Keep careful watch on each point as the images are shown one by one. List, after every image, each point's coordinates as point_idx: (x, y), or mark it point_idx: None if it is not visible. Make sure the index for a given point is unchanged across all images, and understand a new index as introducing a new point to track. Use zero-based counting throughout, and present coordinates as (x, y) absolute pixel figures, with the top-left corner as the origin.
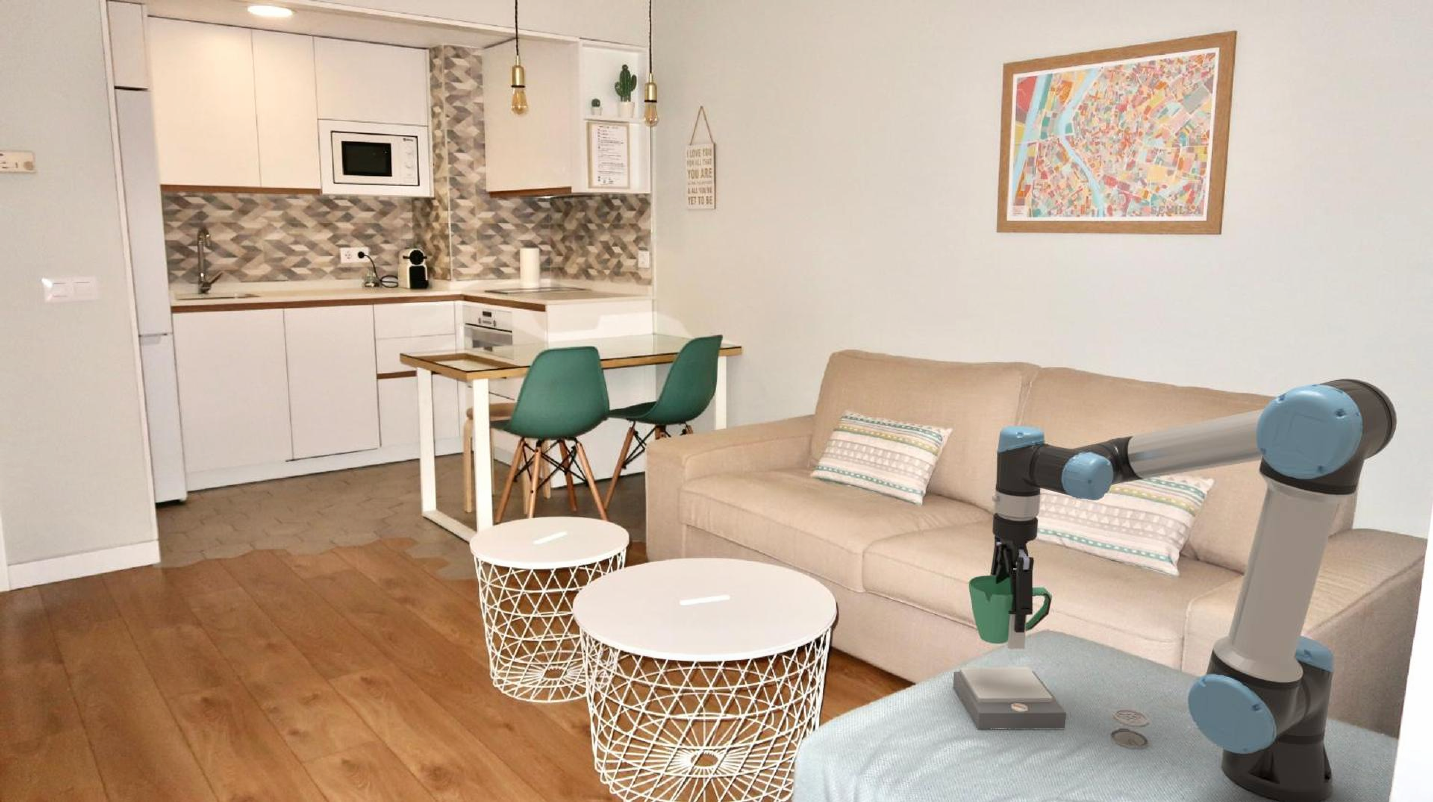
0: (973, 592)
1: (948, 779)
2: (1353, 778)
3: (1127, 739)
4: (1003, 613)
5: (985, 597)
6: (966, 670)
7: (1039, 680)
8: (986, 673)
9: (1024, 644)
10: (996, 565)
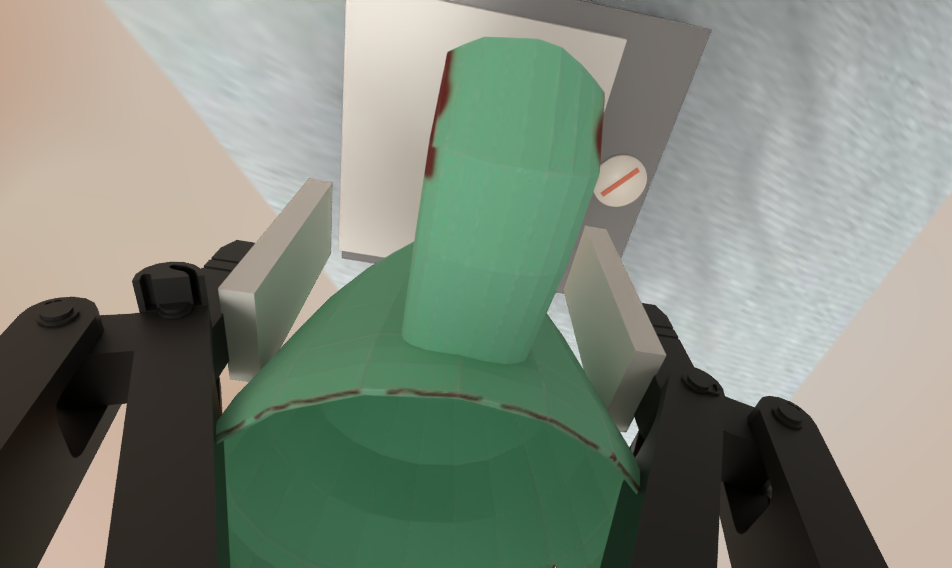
0: None
1: (745, 401)
2: None
3: None
4: (587, 447)
5: None
6: (361, 238)
7: None
8: (390, 186)
9: (610, 239)
10: (24, 555)
